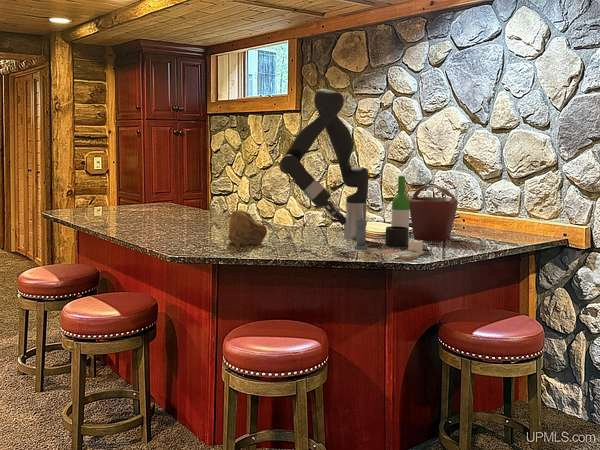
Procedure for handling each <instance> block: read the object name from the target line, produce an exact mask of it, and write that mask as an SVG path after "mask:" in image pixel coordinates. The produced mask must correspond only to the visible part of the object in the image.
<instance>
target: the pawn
mask: <svg viewBox="0 0 600 450" xmlns="http://www.w3.org/2000/svg"><path fill="white" fill-rule="evenodd" d="M356 226H357V240H356V244H354V246H353V247H354V249H356V250H365V251H366V250H367V248H368V244H366V239H367V226H368V222H367V219H366V220H365V219H364V218H359V219H358V220H357V221H356Z"/></svg>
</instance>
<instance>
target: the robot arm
mask: <svg viewBox="0 0 600 450" xmlns="http://www.w3.org/2000/svg"><path fill="white" fill-rule="evenodd" d="M344 104H345V100H344V96H343V94H342V93H340V92H338V91H334V90H331V89H328V88H327V89H326V88H321V89H319V90H317V91H316V93H315V95H314V106H315V109H316V111H317V113H318V116H317V117H316V118H315V119H313V121H311V122H310V123H309V124H307V125H305V126H304V127H303V128H302V129H301V130H300V131H299V132H298V134H297V136H296V137H295V139H293V141H292V143H291V145H290V147H289V148H288V150H287V151H286V152H285V154H284V155H283V157H282V158H281V159H280V161H279V164H278V167H279V170H280V172H281V173H283V174H284V175H289V176H290V177H291V178H292V180H293V181H294V183H295V185H296V186H297V187H298V188H299V189H300V190H301V191H302V192H303V194H304V195H305V196H306V197H307V198H308V200H309V201H311V202H312V203H313V205H314V206H315V207H316V208H319V209H320V208H321V207H322V206H324V210H325V211H326V212H327V213H329V215H330V216H332V217H333V218H334V219H336V220H337V221H338V222H339V223H340V224H341V225H342V226H343V239H344V240H354V241H357V226H356V221H357V220H358V219H359V218H364V219H365V220H366V221H367V200H368V193H369V191H368V189H369V179H370V177H369V175H370V174H369V170H368V169H367V168H366V167H364V166H363V167H362V166H361V167H360V166H353V165H351V163H350V159H351V155H352V153H353V150H354V147H355V145H354V139H353V137H352V134H351V131H350V130H349V128H348V127H347V125H346V124H345V123H344V122H343V121H342V120H341V118H339V116H338V114H339V113H340V111H342V109H343V107H344ZM324 130H326V133H327V135H328V138H329V142H330V143H331V146H332V150H333V152H334V154H335V156H336V160H337V162H338V167H339V170H340V174H341V178H342V181H343V184H344V185H345V186H346V187H348V188H356V191H355V192H354V193H352V194H349V195H347V196H346V198H345V202H346V203H345V216H344V215H343V214H342V213H341V211H340V209H339V208H338V206H336V205H335V203H334V202H332V201H331V200H329V199H330V198H331V197H332V195H331V193H330V192H329V191H328V190H327V189H326V188H325V187H324V186H323V184H321V183H320V182H319V181H318V180H317V179H316V178H314V176H313V175H312V174H311V173H309V172H308V171H307V169H306V168H305V166H304V165H303V163H302V162H301V161H302V159H303V158H304V157H305V155H306V154H307V153H308V151H309V150H310V148H311V147H312V145H313V144H314V142H315V141H316V139H318V136H319V135H320V134H321V133H322V132H323V131H324Z"/></svg>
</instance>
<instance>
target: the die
mask: <svg viewBox="0 0 600 450" xmlns="http://www.w3.org/2000/svg"><path fill="white" fill-rule="evenodd" d="M423 245H424V244H423V240H416V239H409V240H408V246H407V249H408V251H411V252H412V253H418V254H419V256H421V255H422V254H423Z"/></svg>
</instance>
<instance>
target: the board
mask: <svg viewBox="0 0 600 450" xmlns="http://www.w3.org/2000/svg"><path fill="white" fill-rule="evenodd" d="M349 251H356V252H365V253H374V254H381V255H382V254H383V255H391V256H392V255H393V256H397V257H395V258H393V260H398V261H399V260H401V261H406V260H407V261H406V262H408V261H411V260H414V259H417V258H419V257H420V254H418V253H412V252H413V251H410V252H409V251H402V250H392V249H382V248H373V247H367V250H356V249H354V248H350V249H349Z"/></svg>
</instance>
